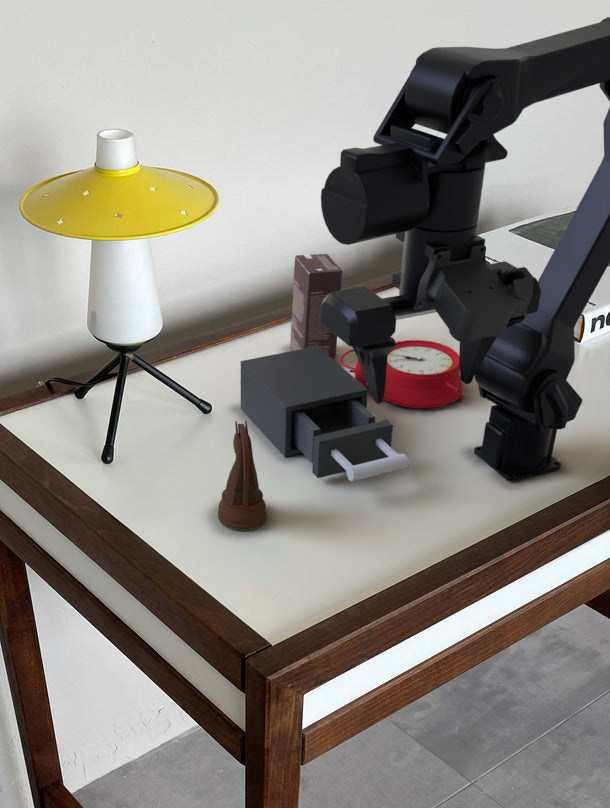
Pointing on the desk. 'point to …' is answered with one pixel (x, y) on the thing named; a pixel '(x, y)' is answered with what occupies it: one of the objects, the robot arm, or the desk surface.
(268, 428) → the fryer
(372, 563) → the desk surface
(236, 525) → the chess piece
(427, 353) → the alarm clock
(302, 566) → the desk surface
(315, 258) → the box
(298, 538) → the desk surface
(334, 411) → the drawer
